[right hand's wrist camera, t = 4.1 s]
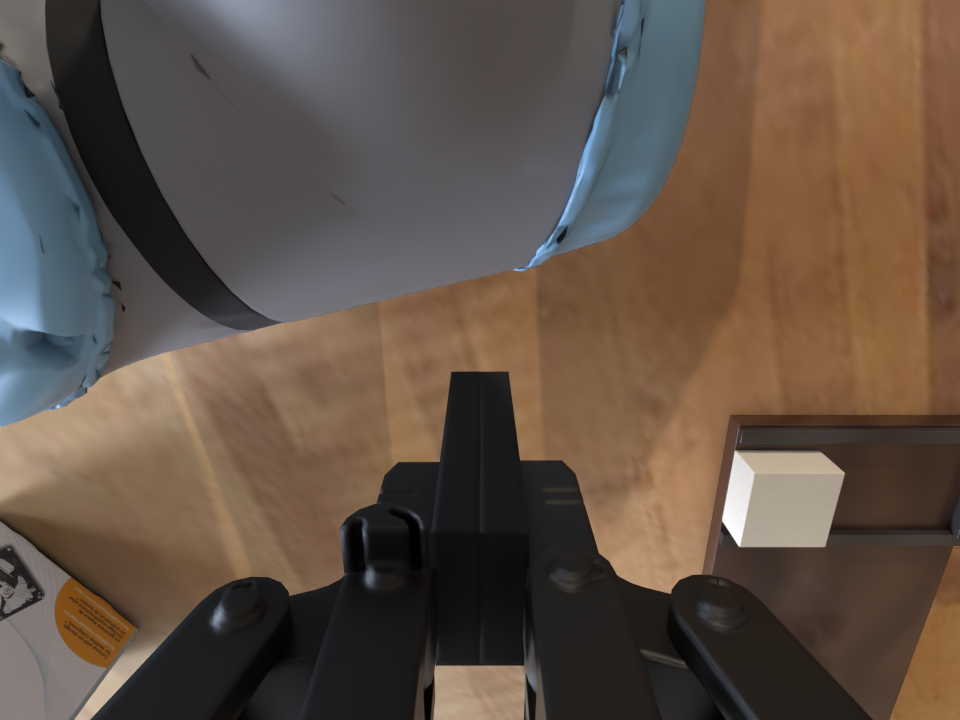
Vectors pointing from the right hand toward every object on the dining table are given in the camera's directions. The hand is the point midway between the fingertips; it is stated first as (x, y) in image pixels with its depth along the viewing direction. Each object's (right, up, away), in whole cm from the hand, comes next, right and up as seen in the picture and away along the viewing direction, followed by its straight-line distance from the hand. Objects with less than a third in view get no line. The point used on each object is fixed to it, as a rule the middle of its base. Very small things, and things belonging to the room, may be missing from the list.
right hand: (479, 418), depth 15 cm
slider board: (+27, -17, +30) cm, 44 cm away
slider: (+21, -8, +25) cm, 34 cm away
